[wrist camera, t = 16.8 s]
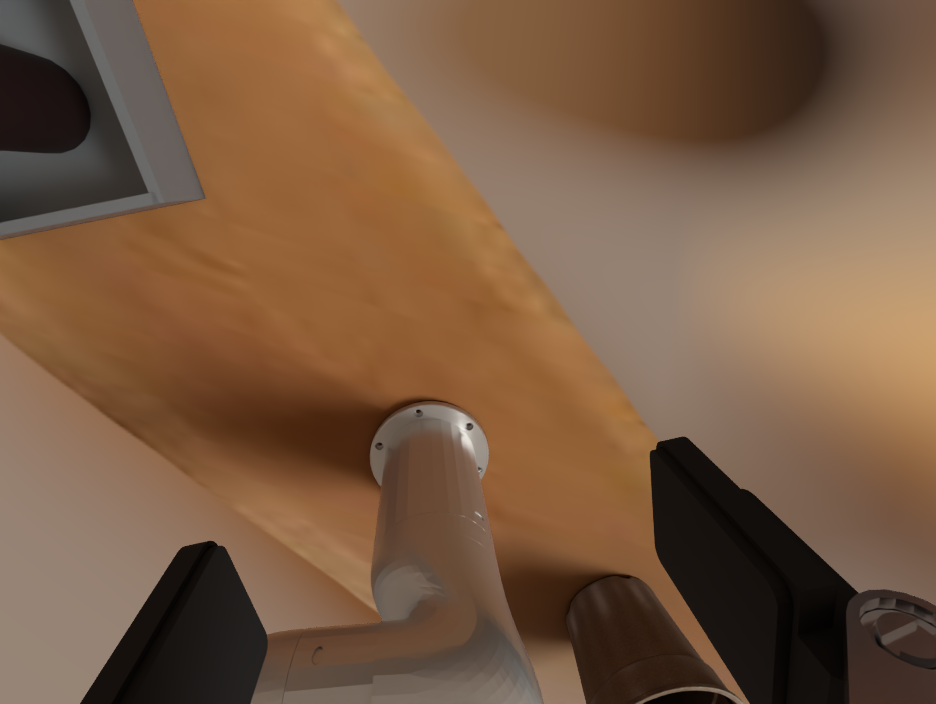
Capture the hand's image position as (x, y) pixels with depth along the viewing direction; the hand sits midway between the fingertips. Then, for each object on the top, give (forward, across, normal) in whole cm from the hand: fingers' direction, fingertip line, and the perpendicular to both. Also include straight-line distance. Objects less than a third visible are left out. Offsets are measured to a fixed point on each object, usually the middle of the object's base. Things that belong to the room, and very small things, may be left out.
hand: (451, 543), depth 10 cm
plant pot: (+36, -14, +49) cm, 63 cm away
